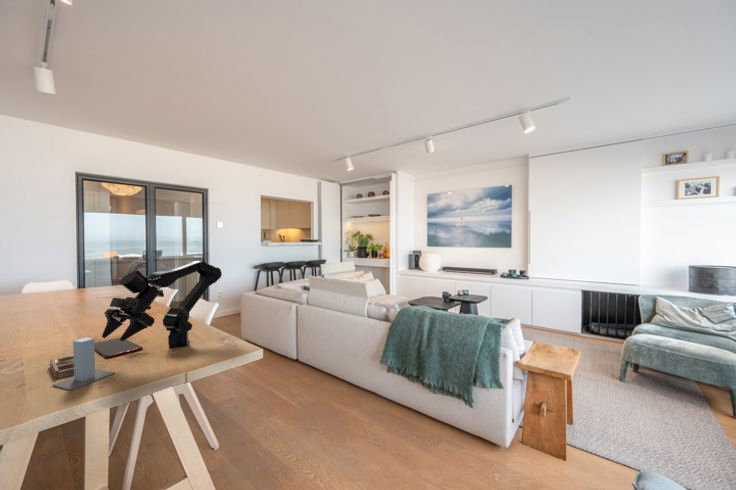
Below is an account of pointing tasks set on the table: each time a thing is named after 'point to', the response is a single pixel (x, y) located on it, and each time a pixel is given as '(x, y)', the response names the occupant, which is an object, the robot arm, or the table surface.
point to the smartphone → (115, 347)
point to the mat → (73, 384)
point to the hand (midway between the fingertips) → (111, 339)
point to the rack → (61, 369)
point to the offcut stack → (65, 359)
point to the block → (84, 359)
